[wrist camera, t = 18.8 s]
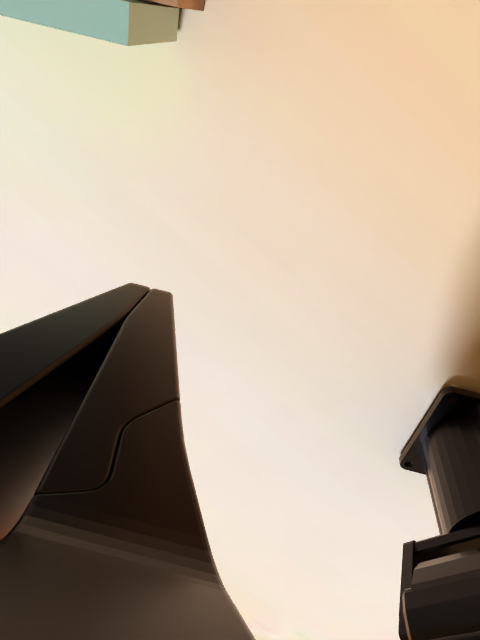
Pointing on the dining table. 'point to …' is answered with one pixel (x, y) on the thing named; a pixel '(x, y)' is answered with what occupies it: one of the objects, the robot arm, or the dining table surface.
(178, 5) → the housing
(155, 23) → the tray
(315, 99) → the dining table surface
